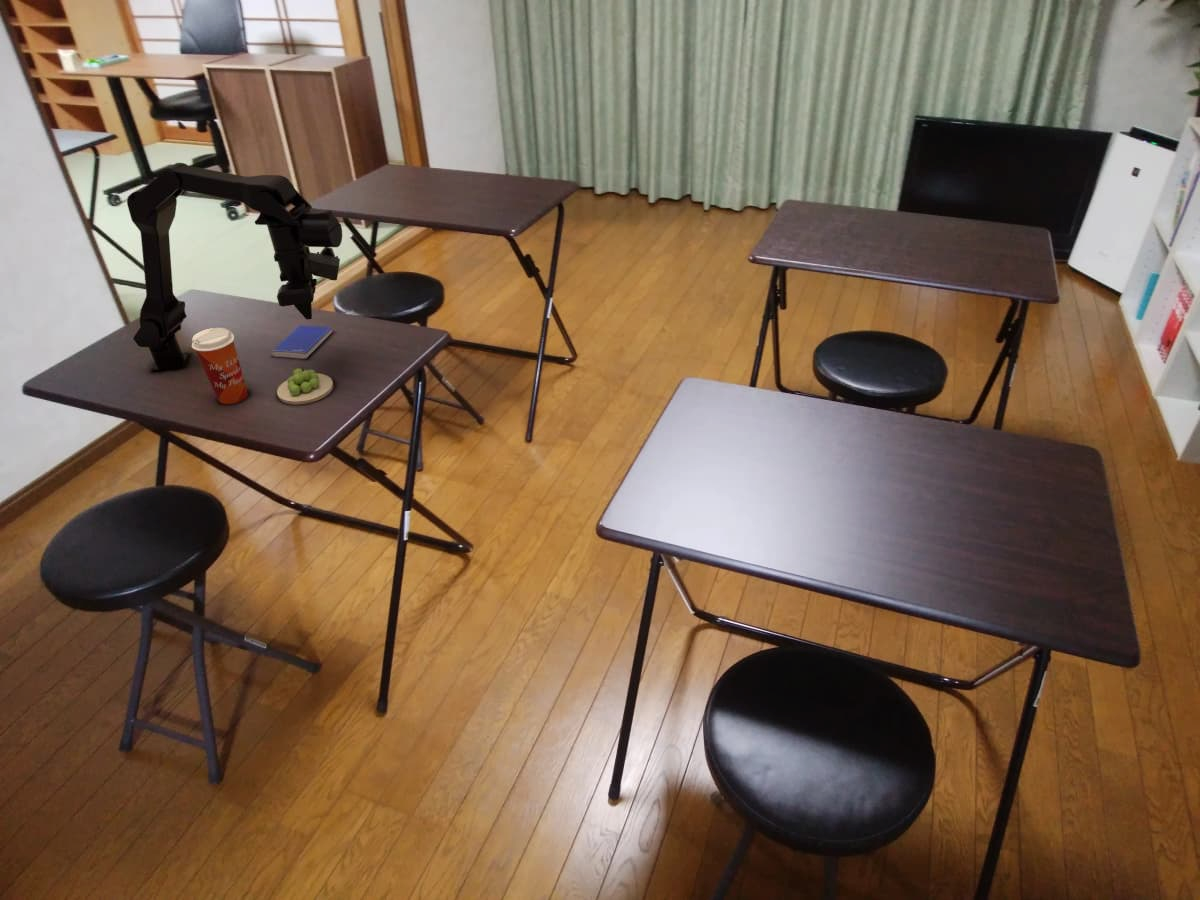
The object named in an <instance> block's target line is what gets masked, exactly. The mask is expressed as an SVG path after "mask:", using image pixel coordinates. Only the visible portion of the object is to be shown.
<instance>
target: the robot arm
mask: <svg viewBox="0 0 1200 900" xmlns="http://www.w3.org/2000/svg"><path fill="white" fill-rule="evenodd" d="M183 192H190V193H196V194H200V195H205V196H210V197H215V198H219V199H225V200H230V201H235V202H239V203H242V204H244V205H246V206H247V207H248V208H249V209H251V210H253V211H256V212H259V216H257V218H256V219H255V220H254V224H255V225H257V226H266V227H267V230H268V233H269V238H270V241H271V243H272V248H273V251H274V253H273V260H274V262H277V265H278V268H279V272H280V273H279V279H280V282H286V283H285V284H281V286H280V287H279V288H278V290H277V294H276V299H277V303H278V306H279V307H291V306H293V307H295V309H296V310H297V311H298V312H299V313H300V315H302V316H303V318H304V319H305V320H312V319H313V307H312V305H313V304H312V303H314V299H315V297H314V296H315V294H316V288H317V287H316V286H317V283H318V279H317V278H314V276H315V277H319V278H324V279H327V280H329V281H337V280H338V277H339V270H340V262H341V259H340V257H339V256H338V255H335V252H334V249H333V248H339V247H341V244H342V242H343V227H342V224H341V223H340V221H339V219H338V218H337V217H336V216H334V214H333V210H331V209H322V210H313V206H312V205H311V204H310V203H309V202H308V201H307V199H305V198H304V197H303V196H302V194H300V192H299V191H297V189H295V186H294V185H293V183H292V182H291V180H290V179H289V178H288V177H286V176H284V175H280V174H260V175H253V176H252V175H251V176H245V175H244V176H243V175H238V174H233V173H228V172H223V171H220V170H219V171H218V170H213V169H209V168H203V167H197V166H192V165H188V164H186V163H184V162H176V163H174V164H172V165H169V166H167V167H165V168H164V169H163V170H162V171H161V173H160V174H159V175H158V176H157V177H156V178H154V179H153V180H152V181H150V183H148V184H146V185H145V186H142V187H140V188H139V189H137V190H135V191H133V192H131V193H130V194H129V195H128V196H127V198H126V204H127V208H128V212H129V215H130V219H131V221H132V223H133V224H134V225H135V227H136V228H137V230H138V231H139V232H140V239H141V240H140V241H141V251H142V262H143V272H144V273H143V275H144V282H145V283H144V284H145V285H144V286H145V298H144V300H143V303H142V305H141V308H140V311H139V320H138V321H139V323H138V324H139V329H138V330H137V331H136V333H135V334H134V336H133V337H132V340H133V341H134V342H135V343H136V345H137V346H138V347H139V348H148V350H149V351H150V354H151V356H152V360H153V361H154V362H153V364H152V366H151V368H150V371H151V372H159V371H168V370H175V369H183V368H184V367H185V366H186V363H187V360H188V359H189V355H190V354H189V352H188V351H185V352H183V351H182V349H181V346H180V343H179V341H178V339H177V336H176V333H177V332H179V331H181V330H182V323H183V322H184V320H185V319H186V318H187V314H186V311H185V310H186V309H185V308H186V302H185V301H182V300H179V299H178V298H177V296H176V295H175V294H174V287H173V274H172V260H171V259H172V256H171V244H170V243H171V242H170V229H171V227H172V224H173V222H174V220H175V217H176V213H177V211H176V210H177V203H178V200H177V199H178V197H179V196H181V194H183ZM290 206H293V207H292V208H291V209H290V210H288V209H287V208H289V207H290ZM310 248H322V250H321V251H317V252H311V251H310Z"/></svg>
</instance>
